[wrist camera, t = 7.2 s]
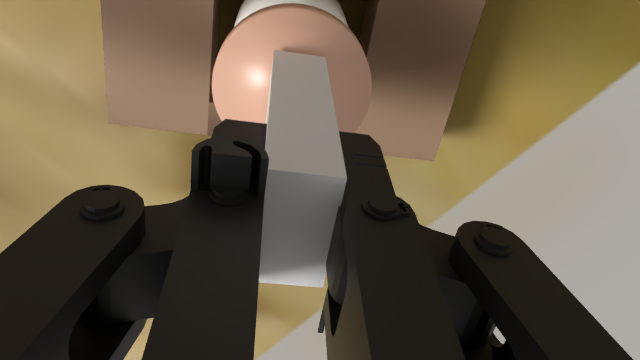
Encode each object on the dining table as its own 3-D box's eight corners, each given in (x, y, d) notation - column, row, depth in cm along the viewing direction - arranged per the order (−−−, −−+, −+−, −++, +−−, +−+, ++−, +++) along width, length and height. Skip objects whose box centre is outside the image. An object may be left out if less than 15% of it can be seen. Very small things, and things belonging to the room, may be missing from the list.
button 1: (237, -45, 19) (215, -3, 14) (359, -25, 20) (388, 24, 14) (229, 74, 22) (208, 151, 16) (338, 88, 23) (354, 168, 17)
